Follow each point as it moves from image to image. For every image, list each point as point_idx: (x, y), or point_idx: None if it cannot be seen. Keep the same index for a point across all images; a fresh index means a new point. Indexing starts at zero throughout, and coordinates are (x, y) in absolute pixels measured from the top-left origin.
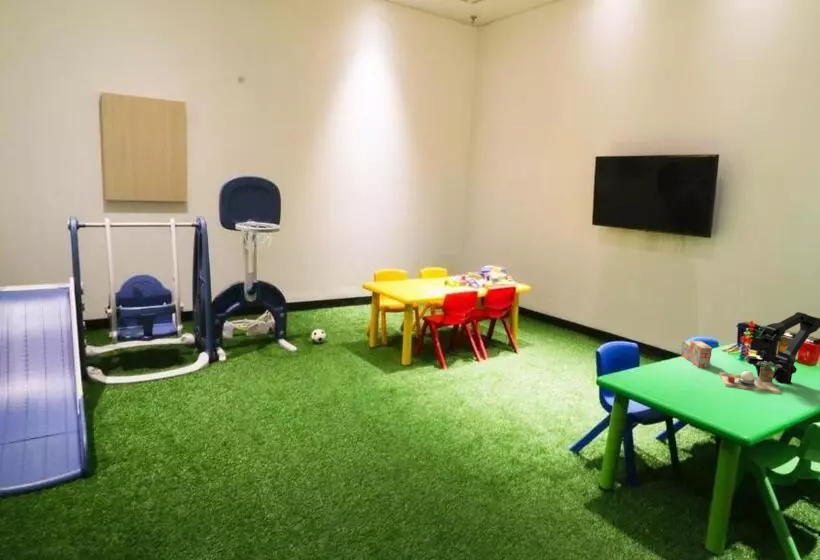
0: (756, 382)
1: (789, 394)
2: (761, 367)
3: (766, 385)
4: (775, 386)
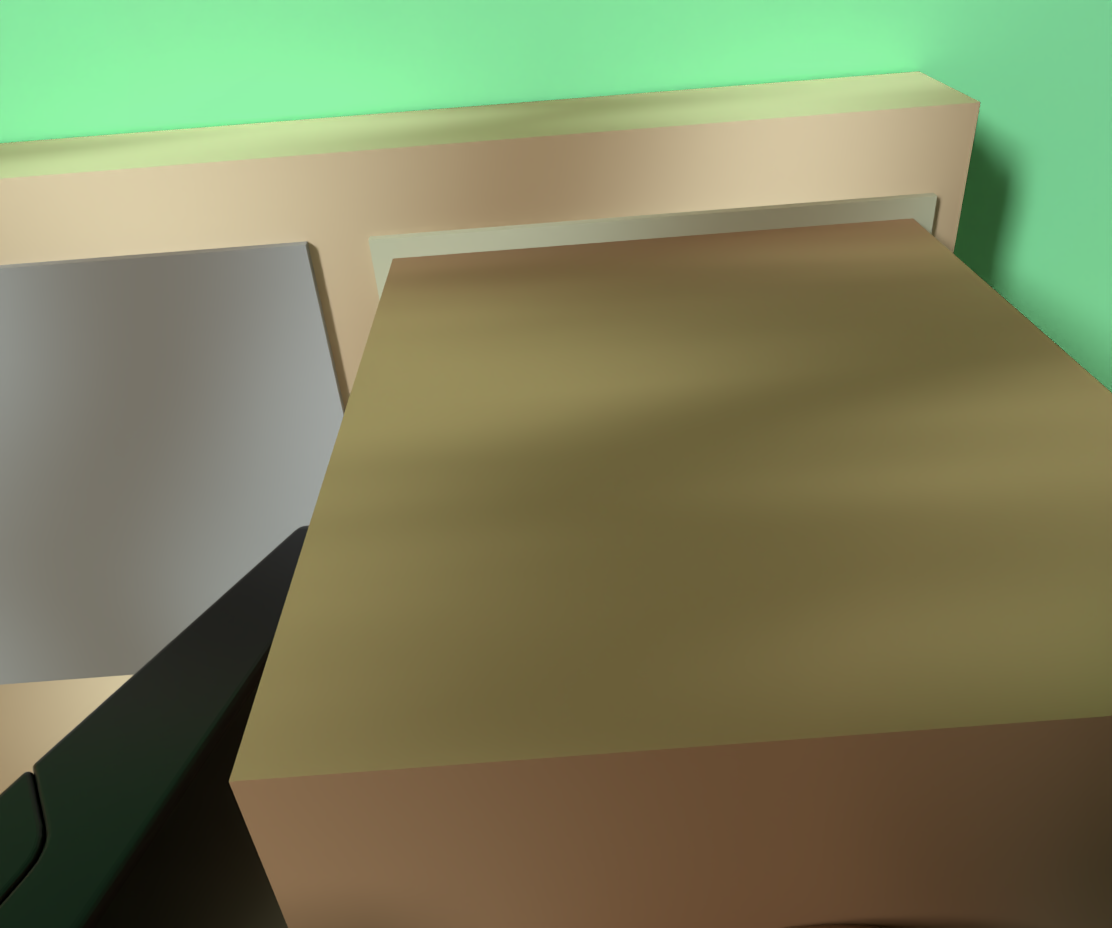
0: None
1: None
2: (355, 855)
3: None
4: None
